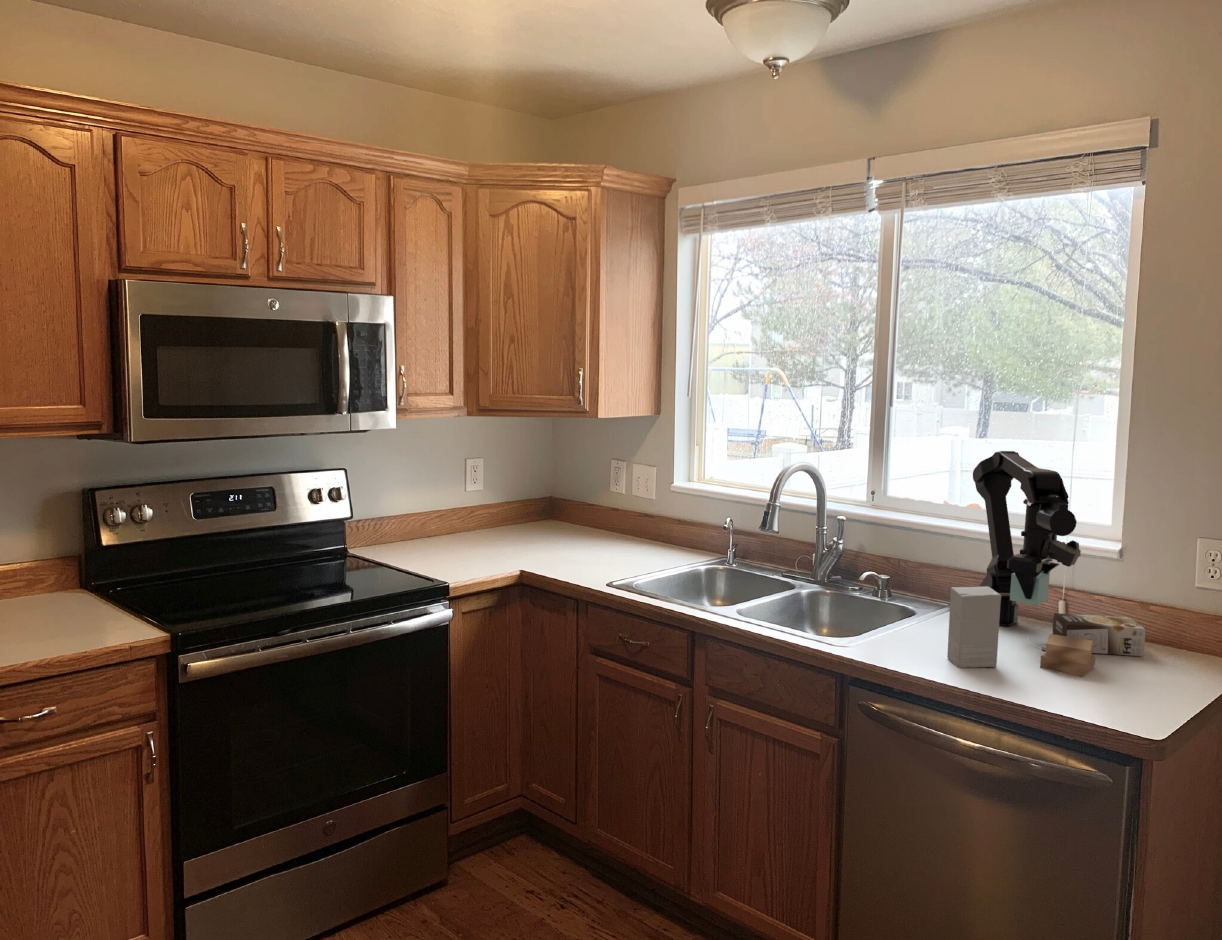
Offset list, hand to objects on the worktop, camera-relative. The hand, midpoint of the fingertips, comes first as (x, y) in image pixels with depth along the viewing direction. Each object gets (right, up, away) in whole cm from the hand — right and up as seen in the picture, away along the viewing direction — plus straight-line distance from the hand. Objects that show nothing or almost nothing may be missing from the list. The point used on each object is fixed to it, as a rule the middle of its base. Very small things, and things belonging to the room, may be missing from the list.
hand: (1033, 596), depth 210 cm
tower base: (0, -13, -16) cm, 21 cm away
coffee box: (+21, -8, -4) cm, 23 cm away
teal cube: (-1, -1, +1) cm, 1 cm away
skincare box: (-20, -12, -15) cm, 27 cm away
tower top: (0, -10, -16) cm, 19 cm away
